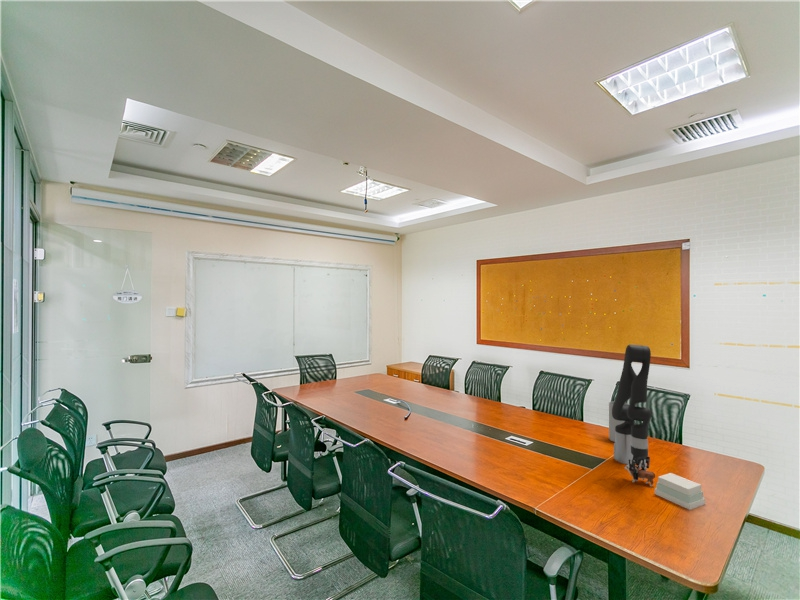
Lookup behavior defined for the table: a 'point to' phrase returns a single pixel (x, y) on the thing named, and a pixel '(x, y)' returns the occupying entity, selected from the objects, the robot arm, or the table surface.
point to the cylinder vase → (613, 422)
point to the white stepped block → (680, 491)
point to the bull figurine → (643, 475)
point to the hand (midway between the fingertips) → (639, 478)
